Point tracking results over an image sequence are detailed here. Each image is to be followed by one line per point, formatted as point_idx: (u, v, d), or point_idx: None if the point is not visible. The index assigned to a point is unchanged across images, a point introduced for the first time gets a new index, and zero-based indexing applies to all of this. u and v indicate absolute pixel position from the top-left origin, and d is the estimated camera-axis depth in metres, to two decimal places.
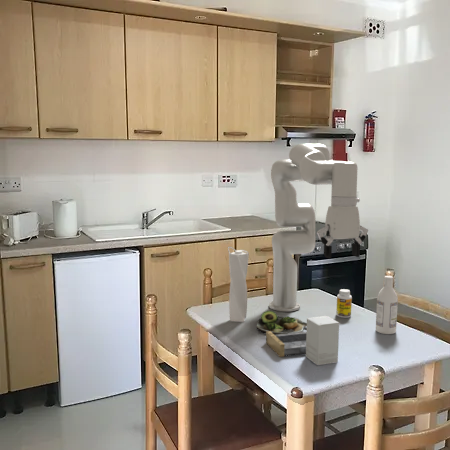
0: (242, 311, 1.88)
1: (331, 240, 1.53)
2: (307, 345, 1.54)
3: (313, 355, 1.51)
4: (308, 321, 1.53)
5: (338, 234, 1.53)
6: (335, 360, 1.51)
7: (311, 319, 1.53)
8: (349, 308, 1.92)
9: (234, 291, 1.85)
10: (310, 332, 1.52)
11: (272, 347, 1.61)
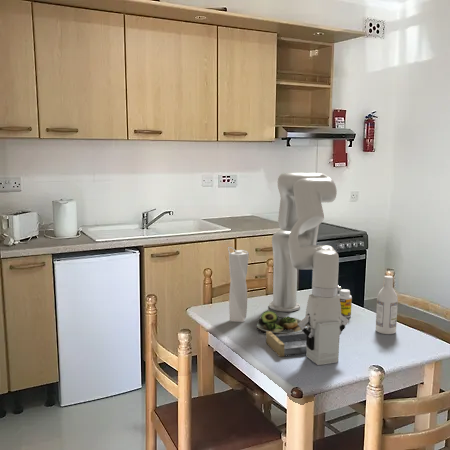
0: (242, 311, 1.88)
1: (313, 331, 1.50)
2: None
3: (314, 355, 1.51)
4: None
5: None
6: (336, 360, 1.51)
7: None
8: (349, 308, 1.92)
9: (234, 291, 1.85)
10: None
11: (272, 347, 1.61)
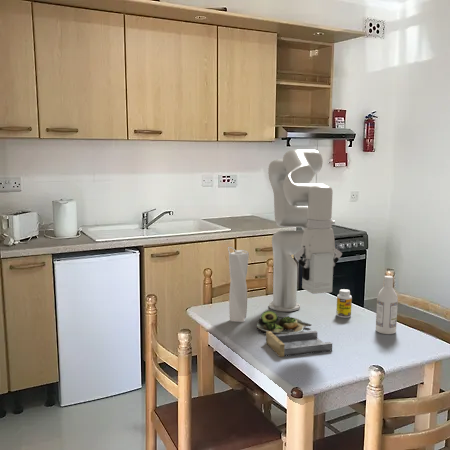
0: (242, 311, 1.88)
1: (308, 262, 1.59)
2: None
3: (309, 285, 1.59)
4: (304, 253, 1.62)
5: None
6: (330, 290, 1.60)
7: None
8: (349, 308, 1.92)
9: (234, 291, 1.85)
10: None
11: (272, 347, 1.61)
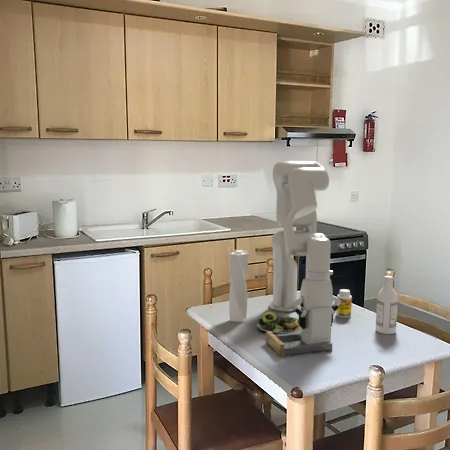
0: (243, 311, 1.88)
1: (305, 312, 1.61)
2: (302, 329, 1.66)
3: (308, 338, 1.62)
4: None
5: (311, 306, 1.60)
6: None
7: None
8: (349, 308, 1.92)
9: (234, 291, 1.85)
10: None
11: (272, 347, 1.61)
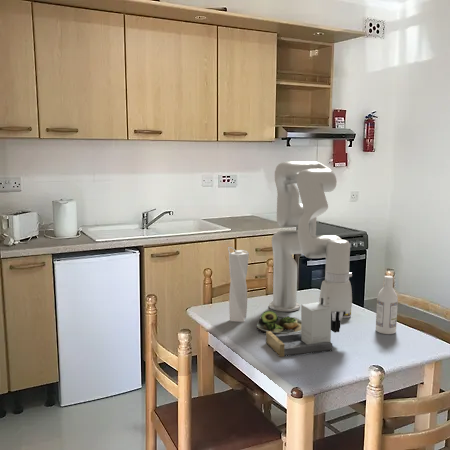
0: (243, 311, 1.88)
1: (334, 315, 1.64)
2: (302, 329, 1.66)
3: (307, 338, 1.62)
4: (302, 307, 1.65)
5: (331, 308, 1.62)
6: None
7: (305, 305, 1.64)
8: None
9: (234, 291, 1.85)
10: (304, 317, 1.64)
11: (272, 347, 1.61)
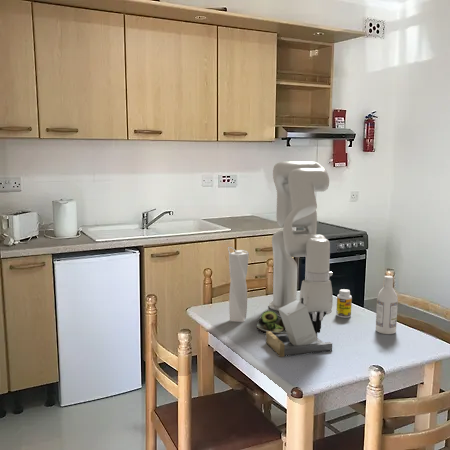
0: (242, 311, 1.88)
1: (314, 315, 1.61)
2: (287, 332, 1.64)
3: (293, 341, 1.61)
4: (280, 312, 1.62)
5: (311, 308, 1.59)
6: (315, 339, 1.60)
7: (281, 309, 1.61)
8: (349, 308, 1.92)
9: (234, 291, 1.85)
10: (284, 321, 1.61)
11: (272, 347, 1.61)
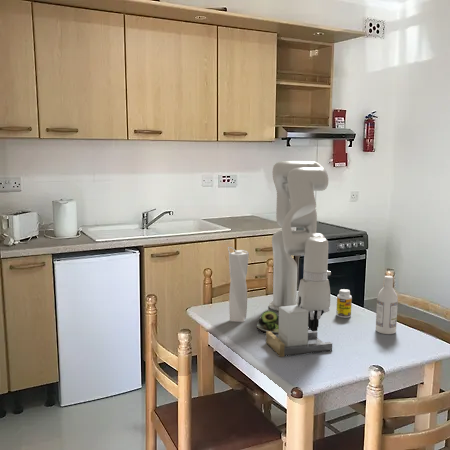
0: (242, 311, 1.88)
1: (311, 313, 1.62)
2: (279, 332, 1.63)
3: (284, 342, 1.60)
4: (280, 309, 1.62)
5: (309, 307, 1.60)
6: None
7: (283, 308, 1.61)
8: (349, 308, 1.92)
9: (234, 291, 1.85)
10: (281, 320, 1.61)
11: (272, 347, 1.61)
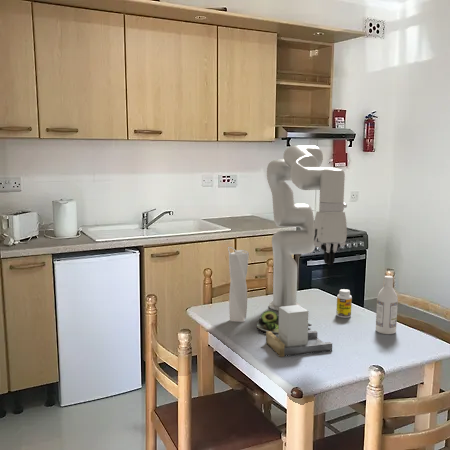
0: (242, 311, 1.88)
1: (328, 246, 1.60)
2: (279, 332, 1.63)
3: (284, 342, 1.60)
4: (280, 309, 1.62)
5: (325, 239, 1.58)
6: None
7: (283, 308, 1.61)
8: (349, 308, 1.92)
9: (234, 291, 1.85)
10: (281, 320, 1.61)
11: (272, 347, 1.61)
